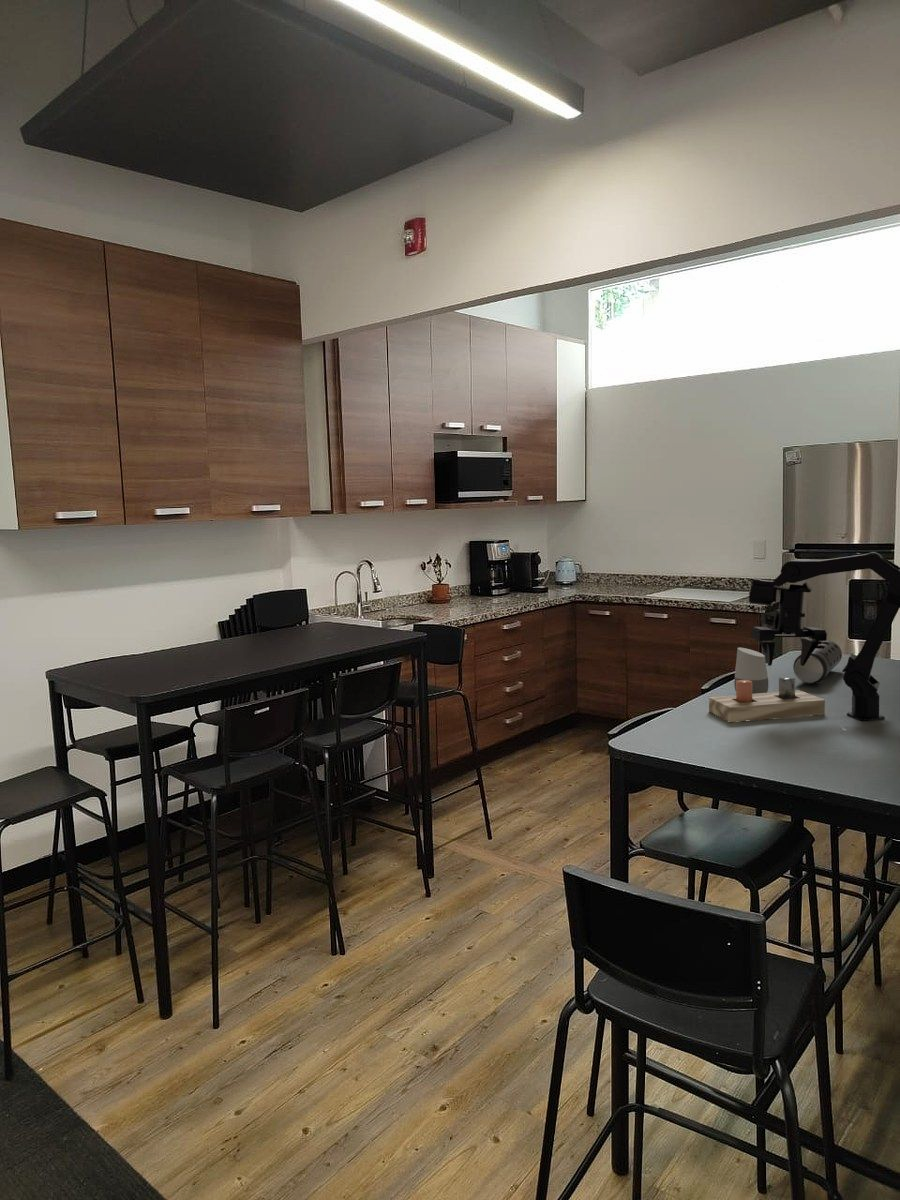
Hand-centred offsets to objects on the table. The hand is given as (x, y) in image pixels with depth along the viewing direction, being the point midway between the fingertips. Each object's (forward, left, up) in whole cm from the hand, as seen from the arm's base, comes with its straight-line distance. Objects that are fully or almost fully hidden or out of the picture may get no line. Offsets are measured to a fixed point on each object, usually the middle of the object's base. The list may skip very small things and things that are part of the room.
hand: (785, 665), depth 216 cm
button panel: (-1, +6, -12) cm, 14 cm away
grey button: (-1, 0, -9) cm, 9 cm away
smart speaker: (+18, 0, -12) cm, 22 cm away
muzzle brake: (+33, -30, -13) cm, 46 cm away
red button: (-1, +12, -9) cm, 15 cm away
